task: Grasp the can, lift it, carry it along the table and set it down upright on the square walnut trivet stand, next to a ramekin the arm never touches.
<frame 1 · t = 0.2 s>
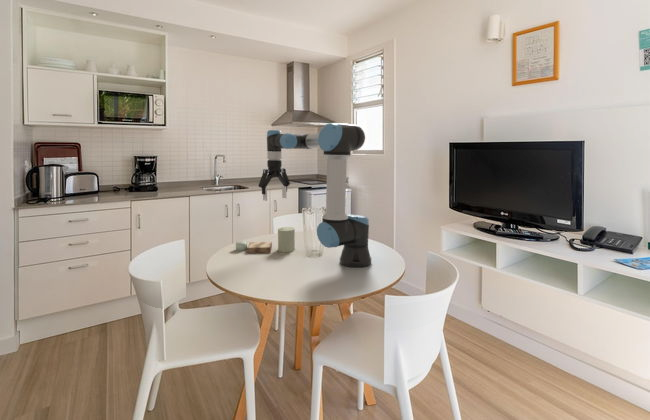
hand: (274, 199, 198), 27 cm above the table, fingers open, 13 cm apart
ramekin: (241, 249, 196), on the table
can: (286, 250, 197), on the table
stand: (260, 249, 196), on the table
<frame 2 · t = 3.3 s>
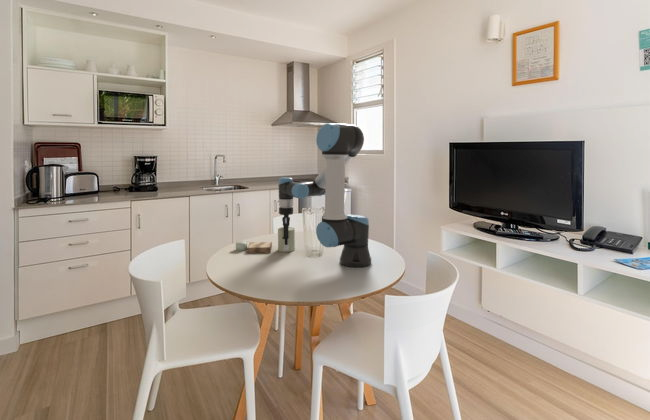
hand: (286, 247, 197), 1 cm above the table, fingers closed on can, 9 cm apart
can: (286, 250, 197), on the table, touching gripper
everything else where it was.
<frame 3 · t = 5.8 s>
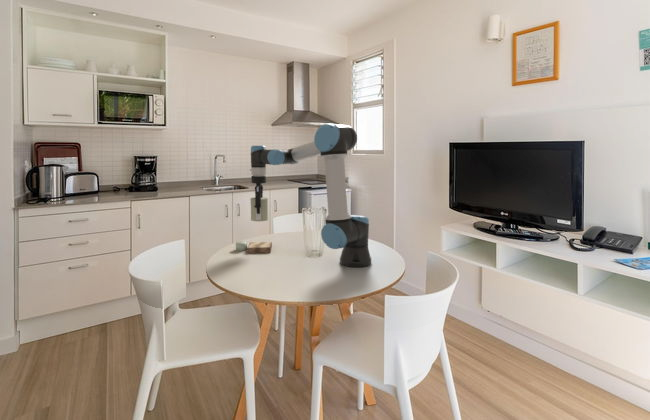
hand: (259, 217, 194), 17 cm above the table, fingers closed on can, 9 cm apart
can: (259, 220, 194), point 16 cm above the table, touching gripper
everything else where it was.
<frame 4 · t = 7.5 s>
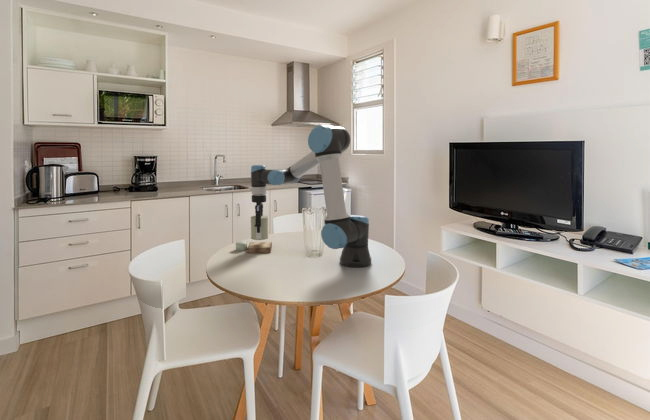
hand: (259, 236, 195), 7 cm above the table, fingers closed on can, 9 cm apart
can: (259, 238, 195), point 6 cm above the table, touching gripper
everything else where it was.
when the fingers open (5 cm above the table, at t = 8.9 s): can drops 2 cm, resting on stand.
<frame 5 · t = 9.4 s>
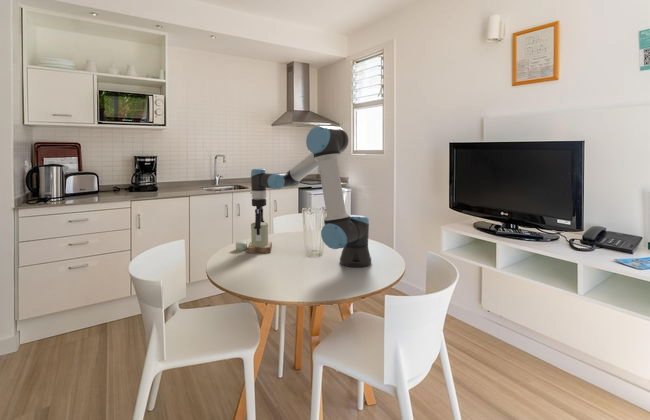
hand: (259, 237, 195), 7 cm above the table, fingers open, 13 cm apart
can: (260, 245, 196), point 3 cm above the table, touching stand
everything else where it was.
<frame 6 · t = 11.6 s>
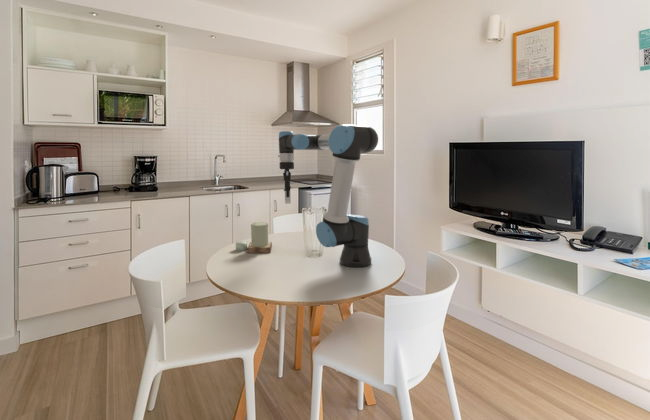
hand: (287, 201, 193), 26 cm above the table, fingers open, 13 cm apart
nothing on the table moved.
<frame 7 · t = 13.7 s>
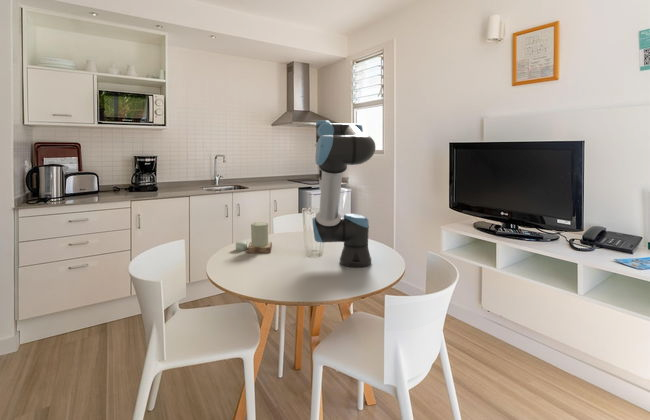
hand: (322, 190, 195), 32 cm above the table, fingers open, 13 cm apart
nothing on the table moved.
at the end: can inside the target area on the stand (0.1 cm from its centre), point 2.6 cm above the stand's base; can touching stand; can tilted 0° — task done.
